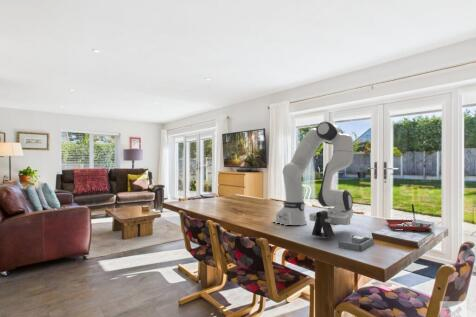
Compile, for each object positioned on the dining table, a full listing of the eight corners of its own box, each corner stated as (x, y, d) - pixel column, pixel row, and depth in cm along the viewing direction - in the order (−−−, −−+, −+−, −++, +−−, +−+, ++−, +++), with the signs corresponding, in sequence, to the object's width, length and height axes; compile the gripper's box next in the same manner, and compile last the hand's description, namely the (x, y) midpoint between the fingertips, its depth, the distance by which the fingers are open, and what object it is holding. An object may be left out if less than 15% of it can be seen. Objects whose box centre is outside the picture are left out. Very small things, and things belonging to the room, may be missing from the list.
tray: (338, 246, 123) (338, 241, 123) (352, 240, 133) (352, 234, 134) (360, 251, 116) (360, 245, 116) (373, 243, 126) (373, 238, 126)
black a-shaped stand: (334, 235, 136) (333, 211, 136) (328, 237, 132) (326, 212, 132) (318, 232, 142) (317, 209, 143) (311, 234, 138) (310, 211, 139)
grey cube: (352, 246, 124) (351, 237, 124) (356, 244, 127) (355, 235, 127) (361, 248, 121) (360, 238, 121) (364, 245, 124) (364, 237, 124)
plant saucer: (390, 231, 149) (390, 225, 149) (385, 224, 166) (385, 218, 166) (429, 233, 143) (429, 226, 143) (419, 225, 160) (419, 220, 160)
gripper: (316, 209, 154) (303, 212, 144) (352, 212, 139) (340, 216, 129) (317, 220, 154) (303, 224, 144) (353, 224, 139) (341, 230, 129)
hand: (321, 220), depth 137 cm, fingers closed on black a-shaped stand
